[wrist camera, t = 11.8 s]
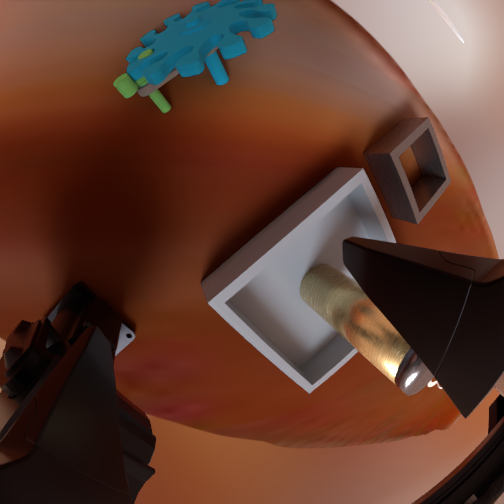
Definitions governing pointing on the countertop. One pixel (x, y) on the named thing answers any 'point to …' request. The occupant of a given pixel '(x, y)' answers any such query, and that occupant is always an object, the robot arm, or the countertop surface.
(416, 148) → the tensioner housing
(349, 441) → the countertop surface
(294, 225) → the tray
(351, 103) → the countertop surface
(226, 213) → the countertop surface
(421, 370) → the capped labeled canister
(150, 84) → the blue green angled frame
